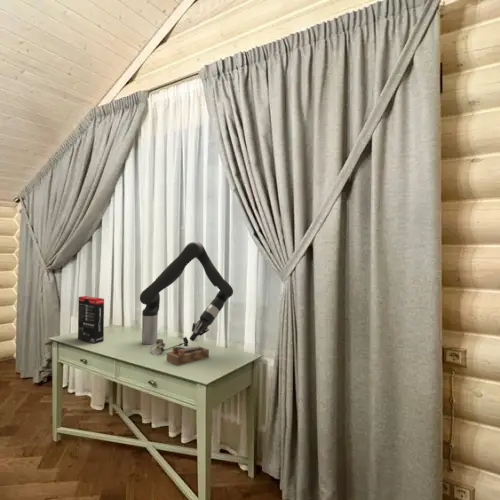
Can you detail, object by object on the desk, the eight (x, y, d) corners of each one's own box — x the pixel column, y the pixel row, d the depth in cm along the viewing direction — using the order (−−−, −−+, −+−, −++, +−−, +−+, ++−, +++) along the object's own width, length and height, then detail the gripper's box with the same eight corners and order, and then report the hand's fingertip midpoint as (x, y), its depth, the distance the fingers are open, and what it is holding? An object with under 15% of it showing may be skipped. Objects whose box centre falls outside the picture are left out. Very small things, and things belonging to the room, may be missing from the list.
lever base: (197, 352, 190) (197, 341, 190) (208, 356, 183) (208, 344, 183) (166, 360, 175) (166, 347, 175) (177, 365, 168) (177, 352, 168)
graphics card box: (104, 341, 209) (105, 297, 209) (94, 344, 203) (95, 299, 203) (86, 337, 217) (87, 295, 217) (76, 339, 211) (77, 296, 211)
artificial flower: (190, 351, 196) (190, 336, 193) (152, 361, 185) (151, 346, 182) (185, 344, 203) (185, 329, 200) (148, 353, 192) (147, 338, 189)
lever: (197, 348, 185) (197, 345, 185) (200, 349, 183) (200, 347, 183) (175, 349, 175) (176, 346, 175) (178, 350, 173) (179, 348, 173)
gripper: (199, 308, 192) (180, 333, 183) (213, 312, 182) (194, 338, 174) (206, 316, 196) (188, 341, 187) (220, 320, 186) (202, 346, 178)
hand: (191, 340), depth 180 cm, fingers closed
